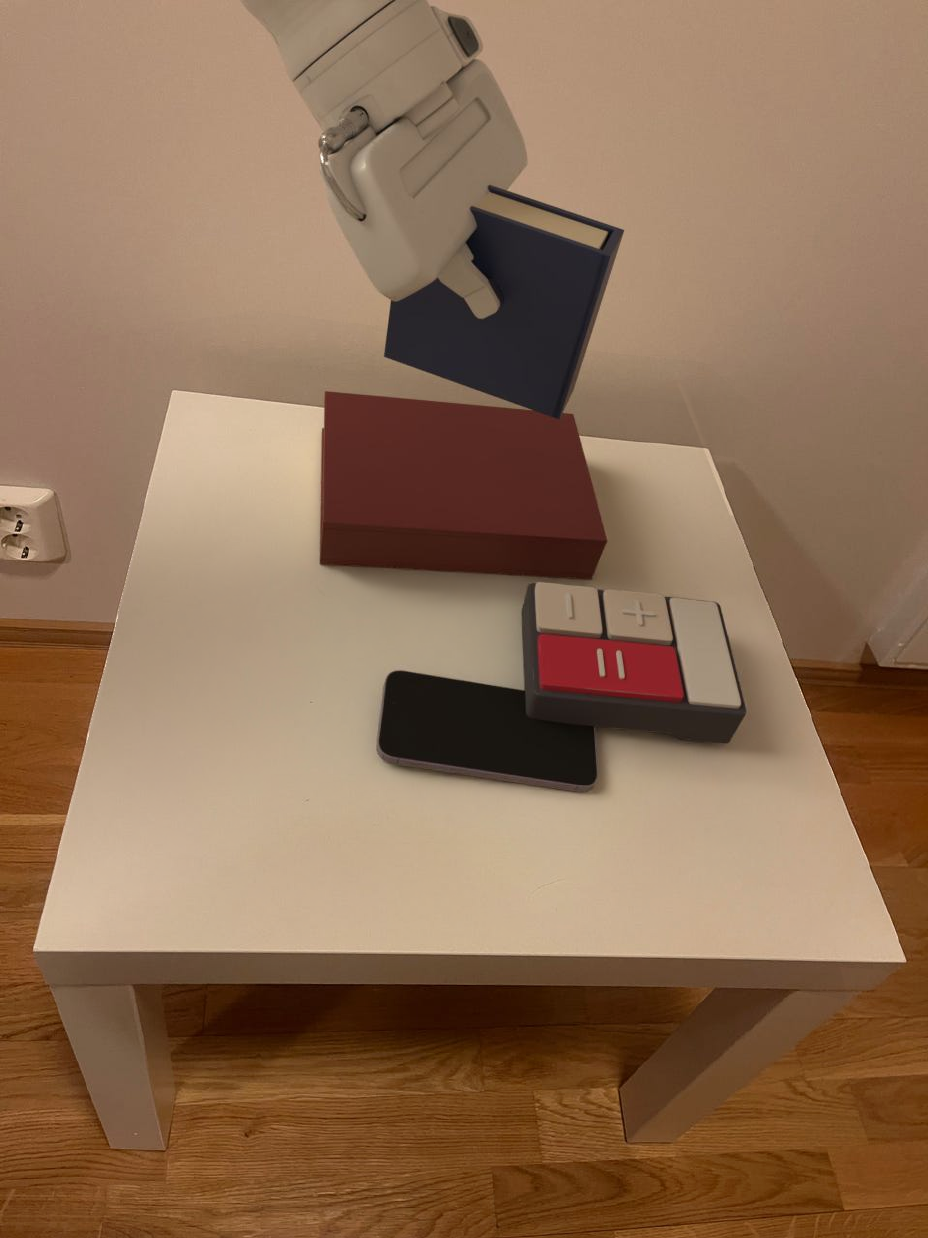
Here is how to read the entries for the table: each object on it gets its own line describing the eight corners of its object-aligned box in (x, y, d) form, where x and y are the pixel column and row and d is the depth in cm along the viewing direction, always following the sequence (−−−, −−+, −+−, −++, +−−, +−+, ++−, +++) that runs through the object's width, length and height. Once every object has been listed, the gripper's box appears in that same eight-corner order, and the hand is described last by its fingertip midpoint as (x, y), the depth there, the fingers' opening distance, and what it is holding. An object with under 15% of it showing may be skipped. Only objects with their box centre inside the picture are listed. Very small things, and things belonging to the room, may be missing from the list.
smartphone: (599, 790, 60) (375, 756, 58) (593, 798, 61) (373, 765, 59) (593, 700, 65) (386, 666, 63) (588, 709, 66) (384, 676, 64)
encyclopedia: (319, 564, 70) (323, 522, 67) (321, 432, 80) (324, 390, 77) (591, 579, 74) (607, 540, 71) (560, 452, 84) (573, 413, 81)
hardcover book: (559, 419, 63) (610, 256, 54) (383, 357, 64) (404, 186, 55) (573, 390, 65) (624, 229, 56) (404, 330, 66) (427, 163, 57)
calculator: (529, 573, 68) (723, 594, 69) (519, 613, 71) (705, 632, 72) (534, 687, 60) (752, 708, 62) (523, 726, 64) (731, 745, 65)
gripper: (350, 111, 44) (496, 350, 51) (480, 12, 58) (583, 210, 64) (266, 175, 48) (412, 389, 55) (406, 67, 62) (510, 250, 68)
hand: (505, 291), depth 60 cm, fingers closed on hardcover book, 4 cm apart
